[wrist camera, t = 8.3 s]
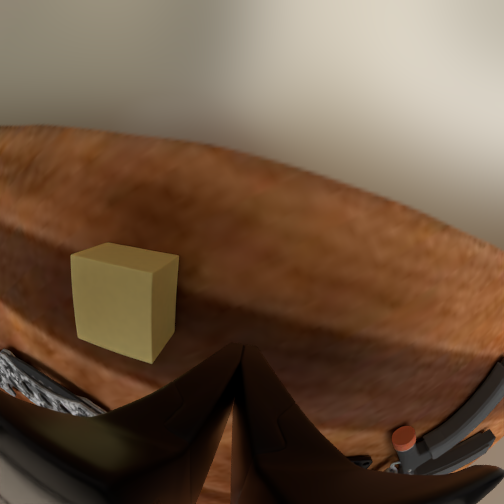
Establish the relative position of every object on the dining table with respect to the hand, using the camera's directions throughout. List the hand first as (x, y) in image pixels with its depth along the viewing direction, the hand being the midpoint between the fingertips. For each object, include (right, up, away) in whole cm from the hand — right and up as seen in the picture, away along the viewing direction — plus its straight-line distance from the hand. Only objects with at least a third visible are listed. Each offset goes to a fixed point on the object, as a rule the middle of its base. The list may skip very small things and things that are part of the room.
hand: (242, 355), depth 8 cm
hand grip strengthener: (+22, -10, +3) cm, 24 cm away
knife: (-22, -10, +8) cm, 25 cm away
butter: (-5, +2, +4) cm, 7 cm away
